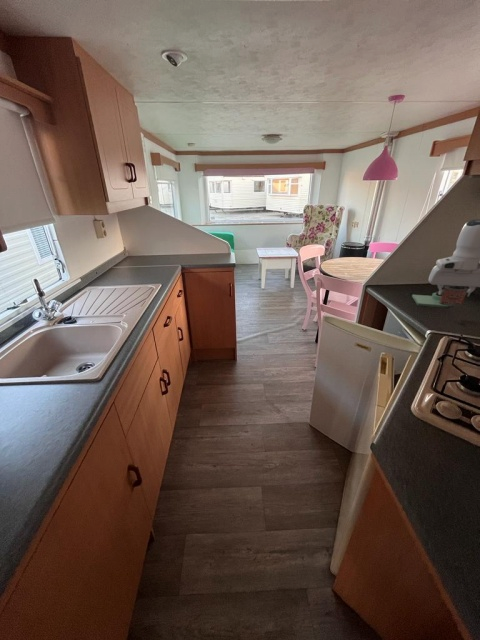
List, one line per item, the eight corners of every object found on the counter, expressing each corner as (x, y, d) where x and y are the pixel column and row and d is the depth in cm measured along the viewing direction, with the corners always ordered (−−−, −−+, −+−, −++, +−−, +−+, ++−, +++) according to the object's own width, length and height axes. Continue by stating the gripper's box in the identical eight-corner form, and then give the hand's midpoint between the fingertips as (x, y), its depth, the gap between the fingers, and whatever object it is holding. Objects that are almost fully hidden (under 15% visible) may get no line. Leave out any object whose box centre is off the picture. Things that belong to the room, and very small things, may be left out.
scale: (442, 298, 139) (444, 293, 138) (451, 308, 129) (453, 302, 127) (411, 296, 143) (412, 290, 142) (417, 305, 133) (419, 299, 131)
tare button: (442, 294, 137) (443, 291, 136) (444, 297, 135) (445, 293, 134) (434, 294, 138) (435, 291, 137) (436, 296, 135) (438, 293, 135)
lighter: (461, 303, 113) (468, 281, 109) (463, 307, 111) (471, 284, 106) (438, 301, 117) (445, 280, 112) (439, 304, 114) (446, 282, 109)
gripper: (492, 261, 105) (479, 294, 112) (432, 260, 111) (423, 290, 117) (500, 266, 100) (486, 300, 106) (437, 264, 106) (427, 296, 112)
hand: (452, 295), depth 112 cm, fingers closed on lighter, 7 cm apart
